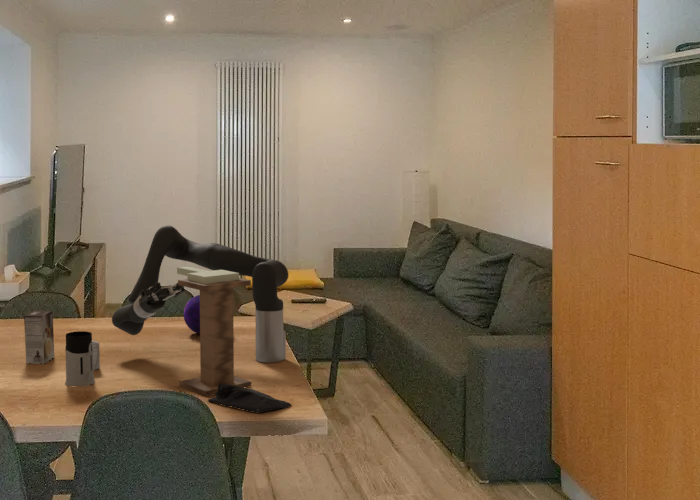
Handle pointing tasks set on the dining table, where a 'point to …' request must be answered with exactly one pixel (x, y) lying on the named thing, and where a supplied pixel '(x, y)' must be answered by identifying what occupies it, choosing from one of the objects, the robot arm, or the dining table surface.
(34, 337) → the coffee box
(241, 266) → the robot arm
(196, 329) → the decorative orb
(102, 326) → the dining table surface
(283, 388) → the dining table surface
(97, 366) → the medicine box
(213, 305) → the walnut stand
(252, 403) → the black folded cloth
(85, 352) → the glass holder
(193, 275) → the paddle board
